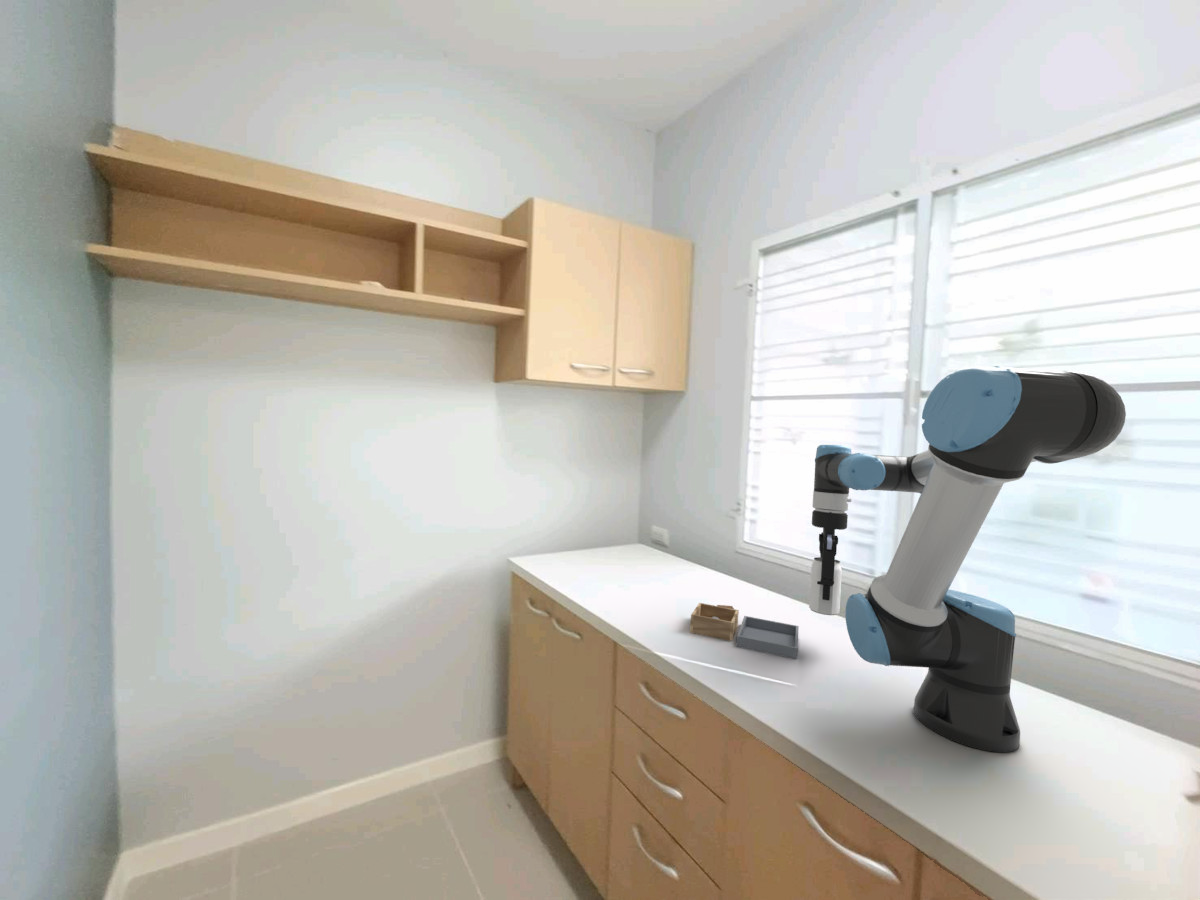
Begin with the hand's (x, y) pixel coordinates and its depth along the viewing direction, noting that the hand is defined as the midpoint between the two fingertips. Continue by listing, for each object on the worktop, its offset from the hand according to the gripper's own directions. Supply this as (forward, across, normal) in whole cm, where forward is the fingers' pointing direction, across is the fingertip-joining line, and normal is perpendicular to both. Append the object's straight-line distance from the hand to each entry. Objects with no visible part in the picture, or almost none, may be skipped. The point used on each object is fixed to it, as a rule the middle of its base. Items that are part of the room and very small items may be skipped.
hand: (824, 608), depth 115 cm
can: (+1, 0, 0) cm, 1 cm away
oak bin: (+10, 0, +25) cm, 27 cm away
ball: (+10, 0, +25) cm, 27 cm away
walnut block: (+10, +8, +23) cm, 27 cm away
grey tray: (+10, 0, +12) cm, 16 cm away
